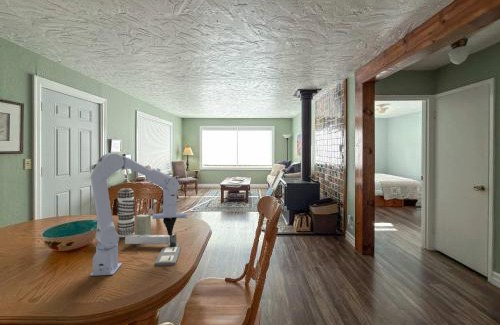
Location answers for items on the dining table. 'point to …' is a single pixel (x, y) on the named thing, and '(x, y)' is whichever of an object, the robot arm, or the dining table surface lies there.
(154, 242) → the swing arm
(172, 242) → the grey joystick
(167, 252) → the label board
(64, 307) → the dining table surface
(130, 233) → the decorative candle
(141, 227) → the skincare box
